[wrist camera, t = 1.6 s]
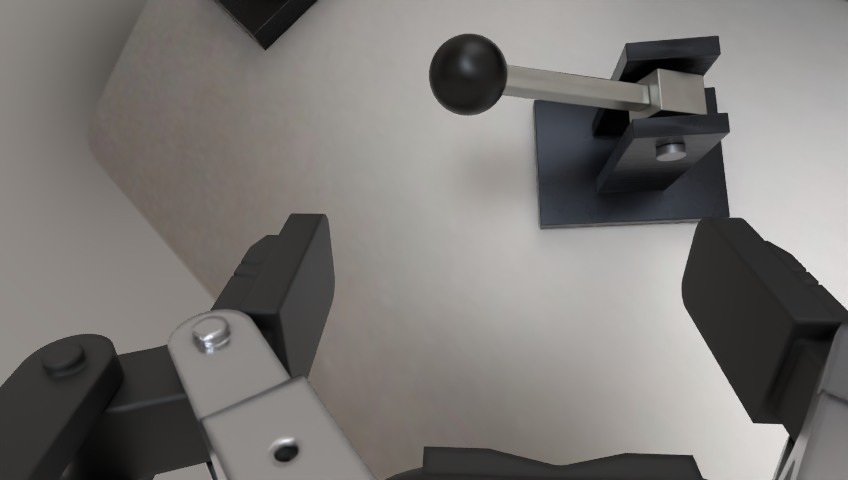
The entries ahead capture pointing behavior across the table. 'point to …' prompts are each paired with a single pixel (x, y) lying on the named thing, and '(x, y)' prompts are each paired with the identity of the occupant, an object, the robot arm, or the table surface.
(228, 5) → the red push button panel
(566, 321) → the table surface
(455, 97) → the lever
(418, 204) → the table surface
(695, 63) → the black lever mount
